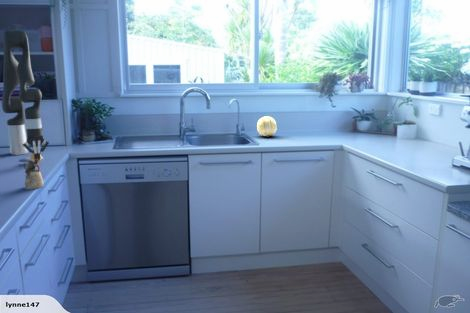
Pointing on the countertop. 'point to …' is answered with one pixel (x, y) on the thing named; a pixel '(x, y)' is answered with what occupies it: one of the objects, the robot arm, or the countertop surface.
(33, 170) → the figurine
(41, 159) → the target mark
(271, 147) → the countertop surface
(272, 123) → the cantaloupe
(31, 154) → the ball
